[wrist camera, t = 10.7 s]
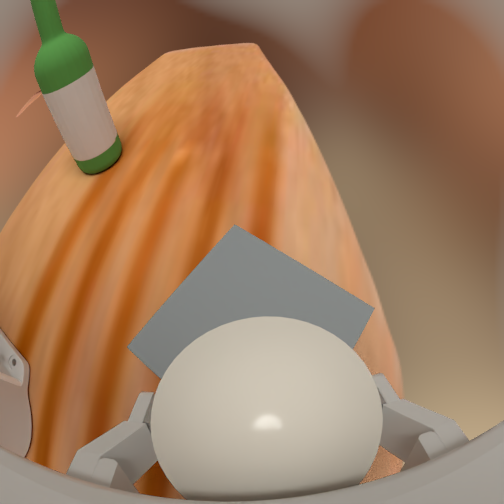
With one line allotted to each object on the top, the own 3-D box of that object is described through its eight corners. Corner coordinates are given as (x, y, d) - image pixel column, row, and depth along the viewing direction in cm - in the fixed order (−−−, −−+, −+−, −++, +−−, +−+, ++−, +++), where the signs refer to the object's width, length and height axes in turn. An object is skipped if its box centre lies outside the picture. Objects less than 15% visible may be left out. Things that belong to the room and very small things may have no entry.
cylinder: (185, 423, 12) (110, 434, 5) (250, 343, 14) (243, 276, 8) (275, 484, 10) (292, 556, 4) (338, 400, 13) (417, 385, 6)
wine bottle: (126, 138, 41) (78, -27, 16) (121, 168, 38) (57, -23, 12) (85, 151, 41) (27, -1, 15) (76, 182, 37) (0, 11, 11)
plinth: (148, 358, 24) (126, 346, 20) (237, 252, 30) (234, 224, 26) (272, 451, 20) (275, 461, 16) (355, 326, 26) (374, 308, 21)
